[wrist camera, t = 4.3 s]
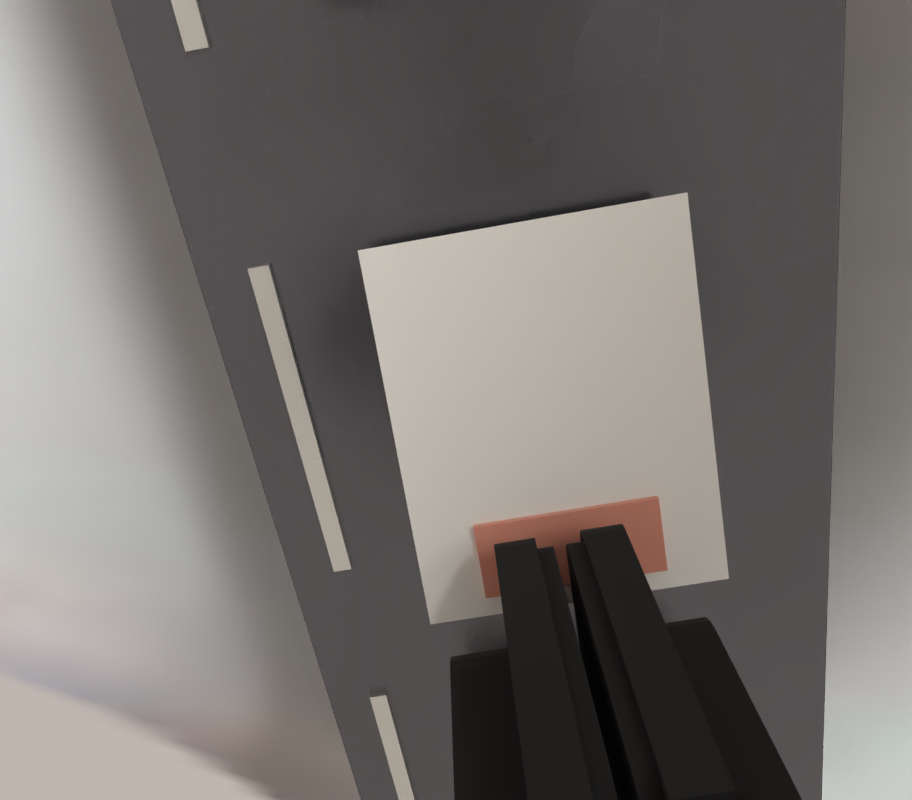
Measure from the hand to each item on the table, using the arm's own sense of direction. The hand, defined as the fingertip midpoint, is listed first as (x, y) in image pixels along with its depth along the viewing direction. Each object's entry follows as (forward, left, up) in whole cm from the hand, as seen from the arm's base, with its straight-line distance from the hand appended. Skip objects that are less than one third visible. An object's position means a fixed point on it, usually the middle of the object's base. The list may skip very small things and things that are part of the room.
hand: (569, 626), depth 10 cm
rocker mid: (-2, 0, -3) cm, 3 cm away
